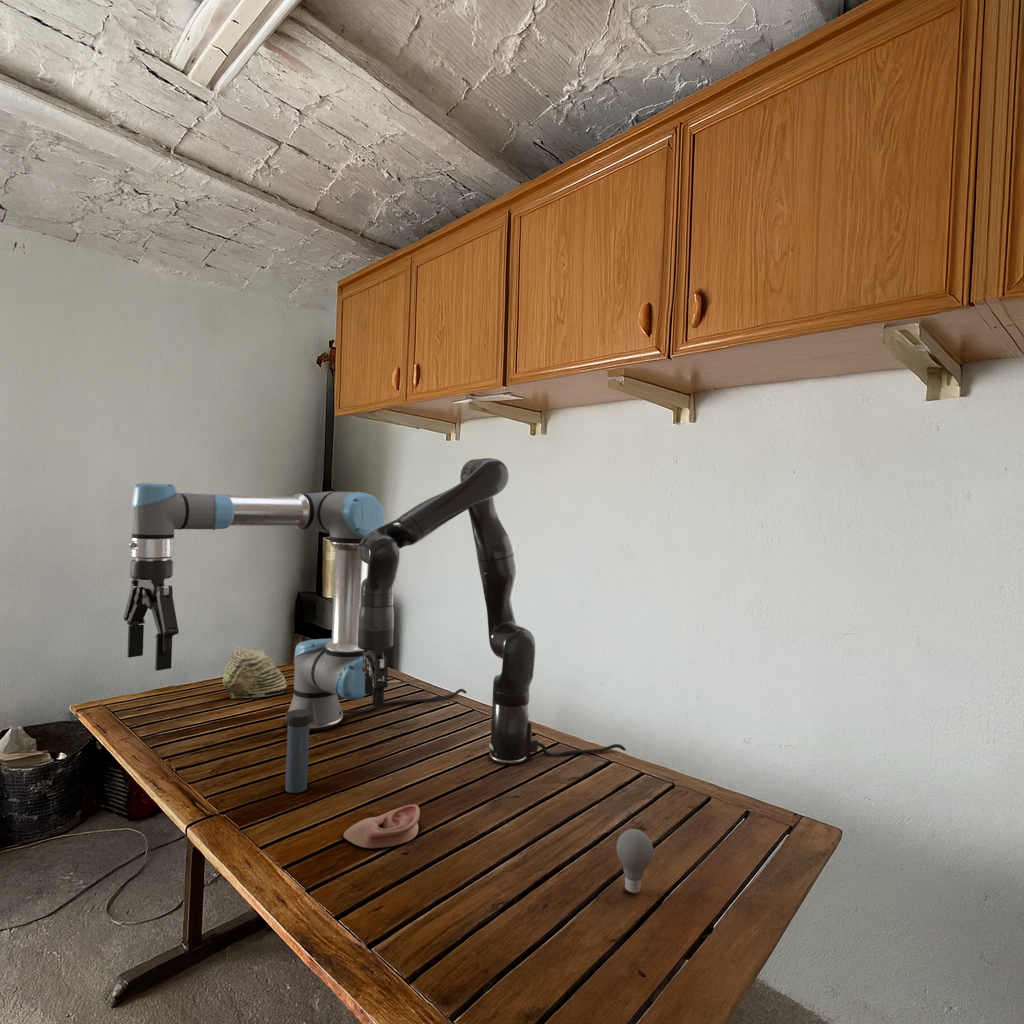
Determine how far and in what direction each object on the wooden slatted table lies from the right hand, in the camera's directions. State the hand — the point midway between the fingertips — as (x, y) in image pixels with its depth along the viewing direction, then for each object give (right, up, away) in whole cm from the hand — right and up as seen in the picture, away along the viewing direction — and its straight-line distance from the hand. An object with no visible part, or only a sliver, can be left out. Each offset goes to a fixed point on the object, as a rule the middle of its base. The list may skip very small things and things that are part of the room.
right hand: (373, 699), depth 138 cm
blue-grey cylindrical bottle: (-17, -19, -1) cm, 25 cm away
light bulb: (+50, -23, -32) cm, 64 cm away
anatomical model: (+5, -20, -18) cm, 27 cm away
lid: (-16, -3, -1) cm, 16 cm away
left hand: (-44, +10, -9) cm, 46 cm away
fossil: (-50, -16, +60) cm, 80 cm away
